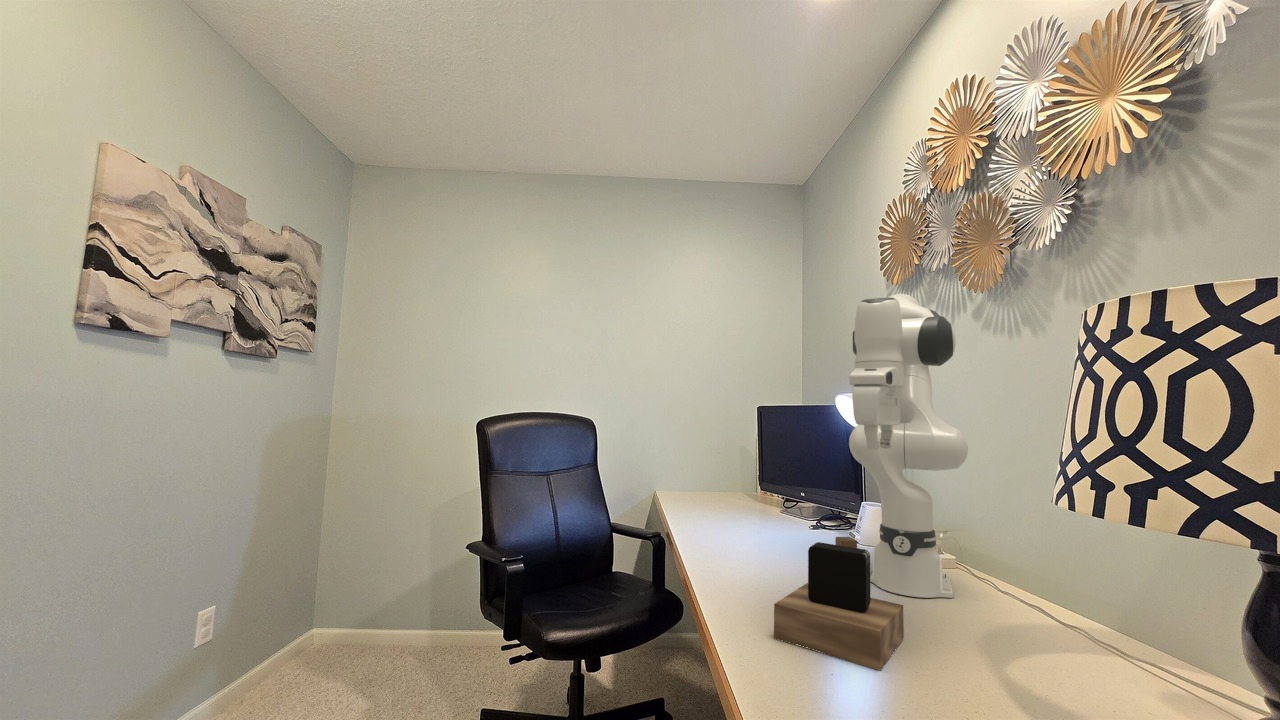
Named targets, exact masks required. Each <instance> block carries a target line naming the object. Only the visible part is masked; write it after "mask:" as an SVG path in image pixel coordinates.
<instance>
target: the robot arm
mask: <svg viewBox="0 0 1280 720" xmlns="http://www.w3.org/2000/svg"><path fill="white" fill-rule="evenodd" d="M855 312H856V313H855V319H854V321H855V322H854V330H853V332H852V352H853V354H854V355H855V358H854V368H853V369H854V370H853V371H852V372H851V373H849V385H851V386H853V387H852V392H851V393H852V409H853V417H854V421H855V423H856V426H855V427H854V429H852V431H851V434H850V435H849V440H848V446H849V450H850V453H851V454H852V457H853V458H854V460H855V461H857V462H858V463H859V464H861V466H863V467H864V468H865V470H867V471H868V473H869V474H870V475H871V477H872V478H873V480H874V481H875V483H876V485H877V489H878V493H879V499H880V507H881V508H880V509H881V523H880V525H879V531H878V532H879V539H880V541H879V543H878V544H876V545H875V546H874V547H873V555H872V558H873V559H872V573H871V572H870V583H873V584H874V585H876V586H877V587H878V588H881V589H882V590H883V591H886V592H887V591H888V592H890V593H893V594H897V595H901V596H908V597H912V598H913V597H914V598H922V599H923V598H927V599H929V598H930V599H933V598H950V599H951V598H952V599H953V598H955V596H954V590H953V587H952V582H951V579H950V577H949V576H947V574H946V572H944V571H943V559H942V557H941V556H940V554H939V552H938V550H937V548H936V545H937V535H936V531H935V529H934V509H933V498H932V496H931V495H930V494H929V492H928V491H927V490H926V489H924V488H923V487H921V486H919V485H918V484H916V483H914V482H912V481H911V480H909V479H908V478H906V477H905V475H904V473H903V470H906V469H909V470H921V471H922V470H923V471H934V472H935V471H936V472H938V471H948V470H956V469H959V468H961V466H962V465H963V464H964V463H965V462H966V460H967V457H968V453H969V446H968V442H967V439H966V438H965V435H964V434H963V433H962V432H961V431H960V430H959V429H958V428H957V427H955V426H952V425H951V424H948V423H946V422H945V421H944V420H942V419H941V418H940V417H939V416H938V415H937V414H936V412H935V410H934V406H933V398H932V396H933V395H932V390H933V388H932V379H931V374H930V373H931V372H930V370H929V367H934V366H936V367H941V366H942V365H944V364H945V363H947V362H948V361H949V360H950V359H951V358H953V356H954V352H955V349H956V334H955V330H954V328H953V326H952V324H951V322H950V321H949V320H947V318H946V317H944V316H942V315H939V313H938V312H937V311H936V310H932V309H930V308H927V307H924V306H921V304H920V303H919V301H918V300H917V299H916V298H915V297H913V296H911V295H909V294H906V293H896V294H895V293H894V294H892V295H889V296H887V297H878V298H877V297H876V298H875V297H874V298H865V299H862V300H861V301H859V302H858V303H857V306H856V311H855Z"/></svg>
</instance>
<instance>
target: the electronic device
mask: <svg viewBox="0 0 1280 720" xmlns="http://www.w3.org/2000/svg"><path fill="white" fill-rule="evenodd" d="M807 551H808V552H807V553H808V555H807V559H808V560H807V562H808V563H807V564H808V566H807V568H808V570H807V572H808V575H807V576H808V577H807V583H808V597H809V600H810V601H811V602H814V603H818V604H823V605H827V606H832V607H836V608H841V609H845V610H850V611H854V612H859V613H864V612H865V611H866V609H867V608H868V607H869V605H870V598H871V582H870V574H871V553H870V552H869V551H868V550H866V549H865V548H858V547H857V548H852V547H846V546H840V545H836V544H831V543H825V542H820V541H819V542H815V543H814V544H812V545H811V546H810V547H809V548H808V550H807Z"/></svg>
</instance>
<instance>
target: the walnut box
mask: <svg viewBox="0 0 1280 720" xmlns="http://www.w3.org/2000/svg"><path fill="white" fill-rule="evenodd" d="M773 612H774V613H773V639H774V638H776V639H775V640H777V639H779V641H781V640H783V641H782V642H784V641H787V642H790V643H789V644H791V643H794V644H798V645H801V646H804V647H808V648H810V649H814V650H817V651H820V652H823V653H825V654H824V655H827V654H828V656H830V655H831V656H830V657H833V656H834V658H837V657H838V658H837V659H840V658H841V660H843V659H844V661H846V660H847V662H850V661H851V663H853V664H857V665H860V666H863V667H866V668H869V667H870V669H873V670H876V669H877V670H876V671H879V670H880V672H881V671H882V670H883V669H884V667H885V666H886V664H887V663H888V662H887V661H889V660H890V659H889V658H891V657H892V656H893V655H892V654H894V653H895V652H896V651H895V649H896V648H897V647H898V648H899V646H900V645H901V644H900V642H901V641H902V640H903V638H905V637H904V635H905V634H904V633H905V631H904V629H905V628H904V605H903V604H900V603H896V602H891V601H887V600H882V599H877V598H873V597H870V605H869V607H868V608H867V609H866V611H865V612H864V613H859V612H854V611H850V610H845V609H841V608H836V607H832V606H827V605H823V604H818V603H814V602H811V601H810V600H809V597H808V582H807V583H805V584H803V585H802V586H801V587H798V588H797V589H795V590H793V591H792V592H791V593H789V594H787V595H786V596H784V597H782V598H781V599H779V600H778V601H776V602H774V603H773ZM903 641H904V640H903ZM903 641H902V642H903ZM787 642H786V643H787ZM902 642H901V643H902ZM794 644H793V645H794ZM899 644H900V645H899ZM898 645H899V646H898ZM804 647H803V648H804ZM898 648H897V649H898ZM810 649H809V650H810ZM897 649H896V650H897ZM814 650H813V651H814ZM817 651H816V652H817ZM894 651H895V652H894ZM820 652H819V653H820ZM893 652H894V653H893ZM823 653H822V654H823ZM891 655H892V656H891ZM888 659H889V660H888ZM886 662H887V663H886ZM884 665H885V666H884ZM883 666H884V667H883ZM881 669H882V670H881Z"/></svg>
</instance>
